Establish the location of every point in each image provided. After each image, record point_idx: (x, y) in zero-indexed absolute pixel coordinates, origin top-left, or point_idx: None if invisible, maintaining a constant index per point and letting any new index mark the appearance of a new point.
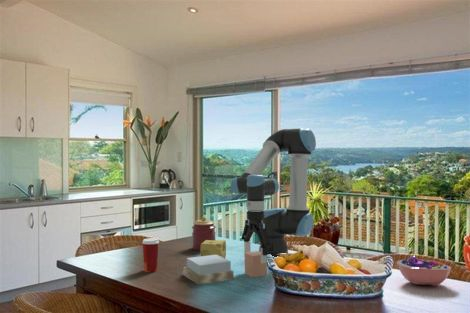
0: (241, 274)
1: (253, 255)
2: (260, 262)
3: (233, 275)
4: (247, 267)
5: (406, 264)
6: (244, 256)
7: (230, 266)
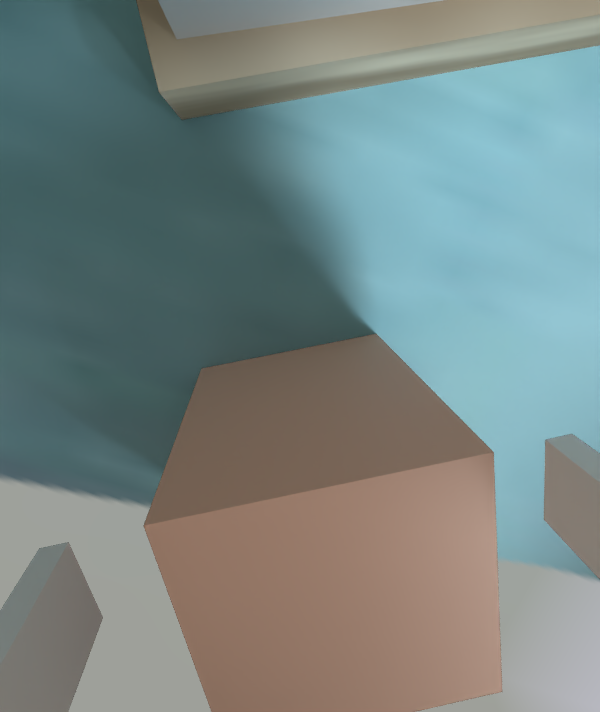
0: (346, 284)
1: (198, 548)
2: (64, 547)
3: (173, 107)
4: (330, 372)
5: None
6: (568, 436)
7: (161, 2)
